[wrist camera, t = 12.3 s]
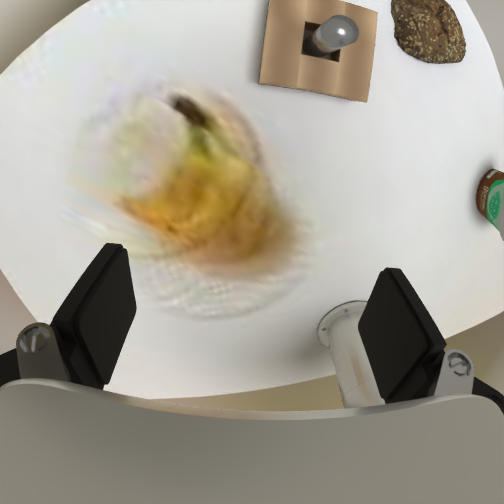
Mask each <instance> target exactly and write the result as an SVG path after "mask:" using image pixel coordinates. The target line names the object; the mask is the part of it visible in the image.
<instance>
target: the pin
mask: <svg viewBox="0 0 504 504" xmlns="http://www.w3.org/2000/svg"><path fill="white" fill-rule="evenodd" d="M358 37H359V28H358V26H357V24H356V23H355V22H354V21H353V20H352V19H351V18H349V17H347V16H345V15H334V16H332V17H330V18H329V19H328V20H327V21H325V22H324V23H323V24H322V25H321V26H320V27H319V28H318V29H316V30H315V31H314V32H313V33H312V34H311V35H310V36H309V37H308V38H307V39H306V40H305V41H304V43H303V49H304V52H305V53H306V54H307V55H308V56H313V57H318V58H321V57H323V56H325V55H327V54H330V53H332V52H334V51H336V50H339V49H341V48H343V47H345V46H348V45H350V44H352V43H354V42H356V41H357V39H358Z"/></svg>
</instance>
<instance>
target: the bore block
mask: <svg viewBox="0 0 504 504" xmlns="http://www.w3.org/2000/svg"><path fill="white" fill-rule="evenodd" d="M334 15H345V16H347V17H349V18H351V19H352V20H353V21H354V22H355V23H356V24H357V26H358V28H359V37H358V39H357V41H356V42H354V43H352V44H350V45H348V46H345V47H343V48H341V49H339V50H336V51H334V52H332V53H330V54H327V55H325V56H323V57H321V58H318V57H313V56H308V55H307V54H306V53H305V52H304V49H303V43H304V41H305V40H306V39H307V38H308V37H309V36H310V35H311V34H312V33H313V32H314V31H315V30H316V29H318V28H319V27H320V26H321V25H322V24H323V23H324V22H325V21H327V20H328V19H329V18H330V17H332V16H334ZM377 16H378V12H375V11H373V10H370V9H367V8H364V7H361V6H357V5H354V4H351V3H347V2H344V1H340V0H269V5H268V12H267V20H266V28H265V36H264V43H263V51H262V59H261V68H260V76H259V84H263V85H271V86H279V87H286V88H292V89H298V90H304V91H310V92H315V93H320V94H325V95H330V96H334V97H339V98H343V99H347V100H351V101H359V102H366V103H367V99H368V93H369V87H370V80H371V72H372V65H373V57H374V48H375V39H376V28H377Z"/></svg>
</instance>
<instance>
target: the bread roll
mask: <svg viewBox="0 0 504 504" xmlns="http://www.w3.org/2000/svg"><path fill="white" fill-rule="evenodd" d="M391 4H392V11H391V13H392V17H393V18H394V22H395V33H394V36H395V38H396V39H397V41H398V44H399V45H400V47H401V48H402V49H403V50H404V51H405V52H406V53H408V54H409V55H411V56H413V57H416V58H417V59H420V60H422V61H425V62H427V63H438V64H442V63H443V64H444V63H456V62H457V63H458V62H461V61H462V59H463V58H464V56H465V52H466V50H465V47H466V43H465V39H464V36H463V32H462V27H461V25H460V23H459V21H458V19H457V17H456V14H455V12H454V11H453V9H452V7H451V6H450V5H449V4H448V3H447V2H446V1H445V0H392V3H391Z"/></svg>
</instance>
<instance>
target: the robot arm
mask: <svg viewBox="0 0 504 504" xmlns="http://www.w3.org/2000/svg"><path fill="white" fill-rule="evenodd" d="M135 314H136V300H135V295H134V290H133V284H132V278H131V272H130V266H129V259H128V252H127V249H125V248H123V246H122V245H121V244H114V243H106V244H105V245H104V246H103V248H102V249H101V250H100V252H99V253H98V254H97V255H96V257H95V258H94V259H93V261H92V262H91V263H90V265H89V266H88V267H87V269H86V270H85V272H84V273H83V274H82V276H81V277H80V279H79V280H78V281H77V283H76V284H75V286H74V287H73V289H72V290H71V291H70V293H69V294H68V296H67V297H66V299H65V300H64V302H63V303H62V305H61V306H60V308H59V309H58V311H57V313H56V314H55V316H54V317H53V320H52V322H51V324H50V325H48V324H46V323H41V322H37V323H33V324H30V325H28V326H26V327H25V328H24V329H23V330H22V331H21V332H20V334H19V335H18V337H17V340H16V348H15V349H13V350H10V351H8V352H6V353H4V354H1V355H0V504H504V396H503V395H502V394H501V393H500V392H498V391H497V390H495V389H494V388H492V387H490V386H489V385H487V384H485V383H484V382H482V381H481V380H479V379H477V378H476V377H474V365H473V362H472V361H471V359H470V358H469V357H468V356H467V355H466V354H465V353H464V352H462V351H460V350H457V349H451V350H448V351H447V352H446V353H445V352H444V350H443V349H444V348H445V346H446V345H447V344H446V342H445V340H444V338H443V336H442V334H441V333H440V331H439V329H438V327H437V326H436V324H435V322H434V321H433V319H432V317H431V316H430V314H429V312H428V311H427V309H426V307H425V306H424V304H423V303H422V301H421V299H420V298H419V296H418V295H417V293H416V292H415V290H414V288H413V287H412V285H411V284H410V282H409V281H408V279H407V278H406V276H405V275H404V273H403V272H402V270H401V269H398V268H385V269H384V271H381V272H380V274H379V276H378V279H377V281H376V283H375V286H374V288H373V291H372V293H371V295H370V298H369V300H368V302H359V301H358V302H351V303H347V304H344V305H341V306H339V307H337V308H335V309H334V310H332V311H331V312H330V313H328V314H327V315H326V316H325V317H324V318H323V320H322V321H321V323H320V325H319V328H318V335H319V339H320V341H321V343H322V344H323V345H324V346H326V347H327V348H330V350H331V354H332V358H333V362H334V366H335V370H336V375H337V379H338V383H339V388H340V392H341V396H342V401H343V405H344V409H335V410H319V411H286V412H285V411H279V412H278V411H244V410H227V409H215V408H205V407H195V406H186V405H179V404H172V403H166V402H160V401H153V400H148V399H143V398H138V397H132V396H127V395H122V394H118V393H113V392H109V391H104V390H103V388H104V385H105V384H106V385H107V384H108V383H109V382H110V379H111V376H112V374H113V371H114V368H115V365H116V363H117V360H118V357H119V355H120V352H121V349H122V347H123V344H124V341H125V339H126V336H127V334H128V331H129V329H130V326H131V324H132V321H133V319H134V317H135Z"/></svg>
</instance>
